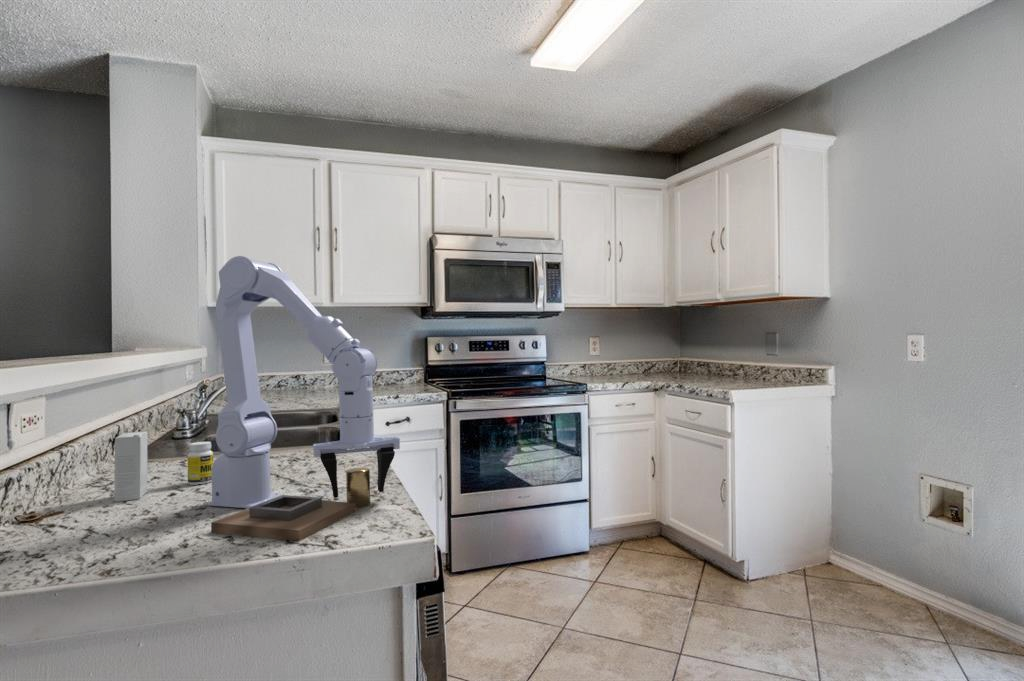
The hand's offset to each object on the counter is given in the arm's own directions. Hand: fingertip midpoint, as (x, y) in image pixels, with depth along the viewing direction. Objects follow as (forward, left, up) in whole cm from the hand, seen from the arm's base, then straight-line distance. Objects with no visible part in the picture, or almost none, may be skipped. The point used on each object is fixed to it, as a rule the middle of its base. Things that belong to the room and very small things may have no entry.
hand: (358, 493), depth 96 cm
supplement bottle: (-43, +7, -2) cm, 44 cm away
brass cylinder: (0, 0, -2) cm, 2 cm away
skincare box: (-47, -5, -2) cm, 47 cm away
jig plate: (-6, -11, -2) cm, 13 cm away
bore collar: (-6, -11, 0) cm, 13 cm away
